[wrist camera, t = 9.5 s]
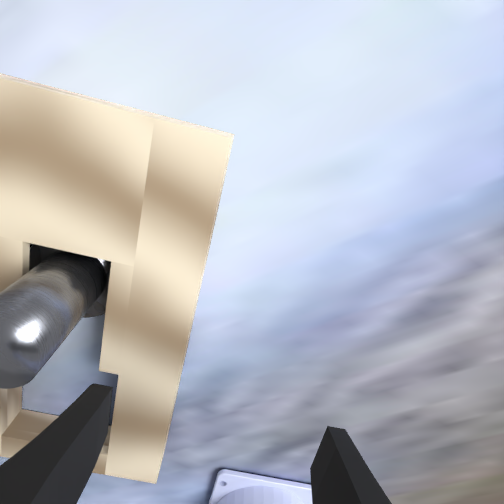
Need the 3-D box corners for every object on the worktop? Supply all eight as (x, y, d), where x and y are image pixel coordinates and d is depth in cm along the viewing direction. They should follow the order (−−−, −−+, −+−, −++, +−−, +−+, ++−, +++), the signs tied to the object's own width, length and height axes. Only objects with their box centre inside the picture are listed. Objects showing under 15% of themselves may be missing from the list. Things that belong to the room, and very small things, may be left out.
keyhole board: (163, 454, 26) (156, 483, 24) (-108, 405, 24) (-140, 431, 22) (234, 134, 18) (232, 138, 16) (-167, 29, 16) (-226, 19, 14)
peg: (128, 315, 21) (66, 417, 14) (37, 300, 21) (-70, 397, 14) (134, 233, 20) (67, 304, 13) (34, 215, 19) (-92, 278, 12)
